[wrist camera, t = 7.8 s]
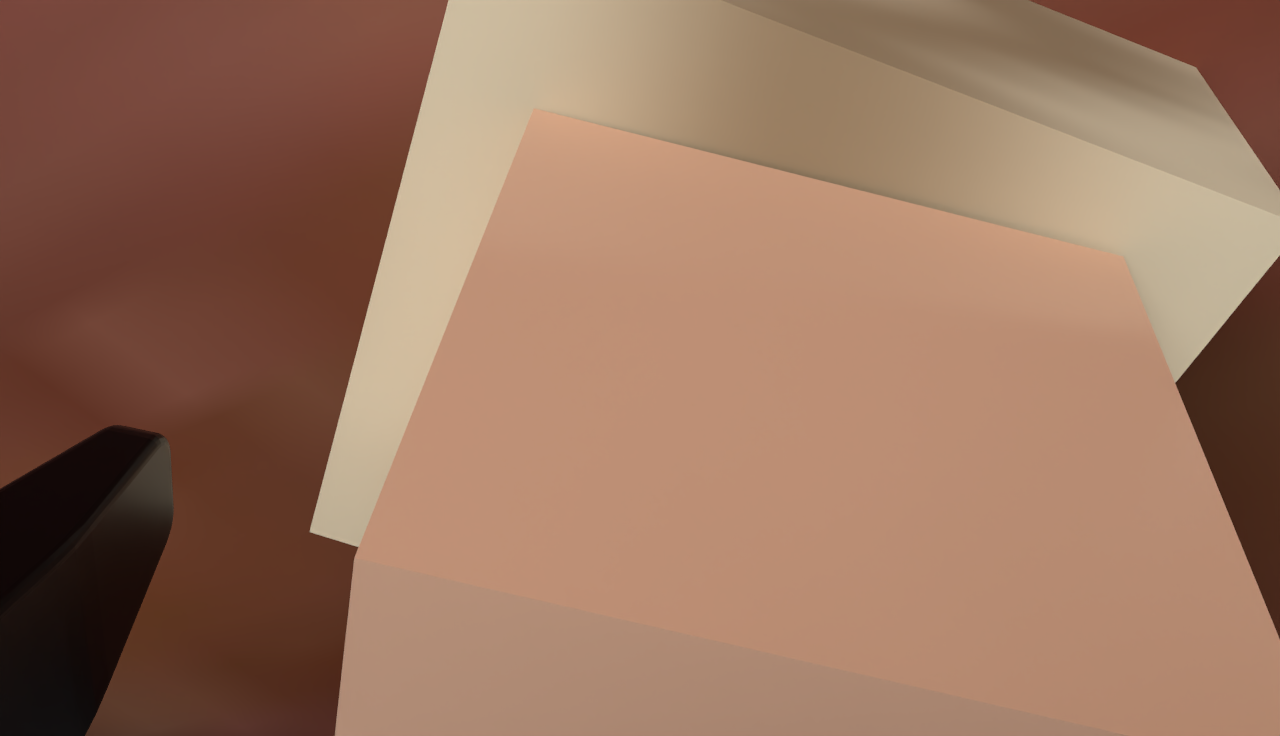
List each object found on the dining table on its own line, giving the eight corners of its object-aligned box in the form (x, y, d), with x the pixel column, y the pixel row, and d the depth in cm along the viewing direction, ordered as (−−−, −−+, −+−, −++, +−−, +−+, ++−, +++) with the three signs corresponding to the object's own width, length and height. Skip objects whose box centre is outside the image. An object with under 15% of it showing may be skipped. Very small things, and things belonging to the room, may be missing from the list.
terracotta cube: (1123, 256, 10) (1338, 784, 6) (911, 637, 13) (961, 1154, 9) (534, 108, 10) (353, 558, 6) (456, 532, 13) (303, 1018, 9)
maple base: (1186, 55, 13) (1302, 225, 10) (882, 505, 17) (903, 716, 14) (547, -202, 12) (473, -95, 9) (392, 341, 16) (310, 532, 13)
